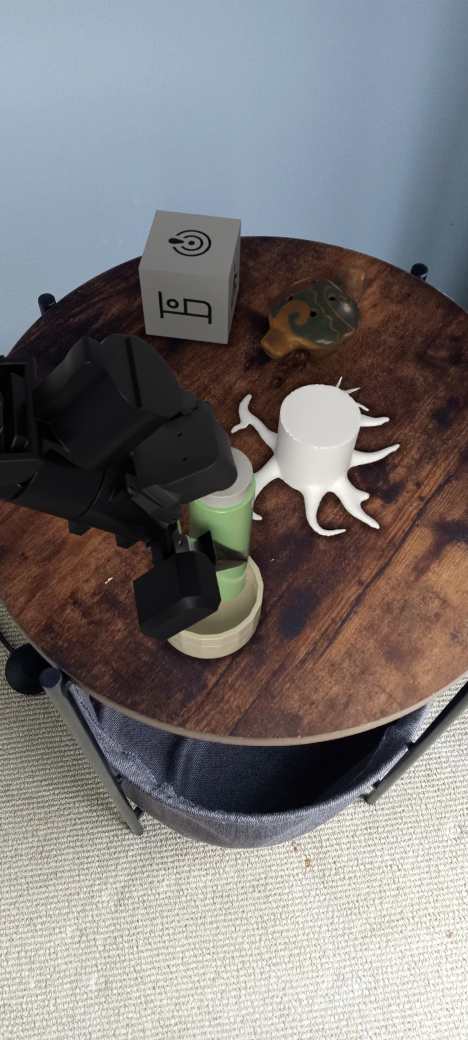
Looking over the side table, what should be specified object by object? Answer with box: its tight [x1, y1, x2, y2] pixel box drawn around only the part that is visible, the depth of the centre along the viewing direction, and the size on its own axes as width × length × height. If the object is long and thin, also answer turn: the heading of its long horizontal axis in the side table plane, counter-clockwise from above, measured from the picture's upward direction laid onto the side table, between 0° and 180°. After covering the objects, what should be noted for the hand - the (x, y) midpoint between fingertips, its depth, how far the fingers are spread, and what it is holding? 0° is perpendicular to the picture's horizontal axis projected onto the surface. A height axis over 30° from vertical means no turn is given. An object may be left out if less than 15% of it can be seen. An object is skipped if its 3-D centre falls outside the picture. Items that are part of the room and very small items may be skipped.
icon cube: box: [138, 209, 242, 345], centre depth 86 cm, size 10×10×10 cm
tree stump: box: [230, 376, 401, 537], centre depth 75 cm, size 20×19×8 cm
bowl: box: [167, 555, 264, 659], centre depth 67 cm, size 10×10×5 cm
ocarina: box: [260, 264, 368, 360], centre depth 85 cm, size 10×15×8 cm, turn 135°
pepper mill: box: [186, 446, 256, 602], centre depth 58 cm, size 5×5×17 cm
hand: (236, 533), depth 59 cm, fingers closed on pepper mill, 5 cm apart
